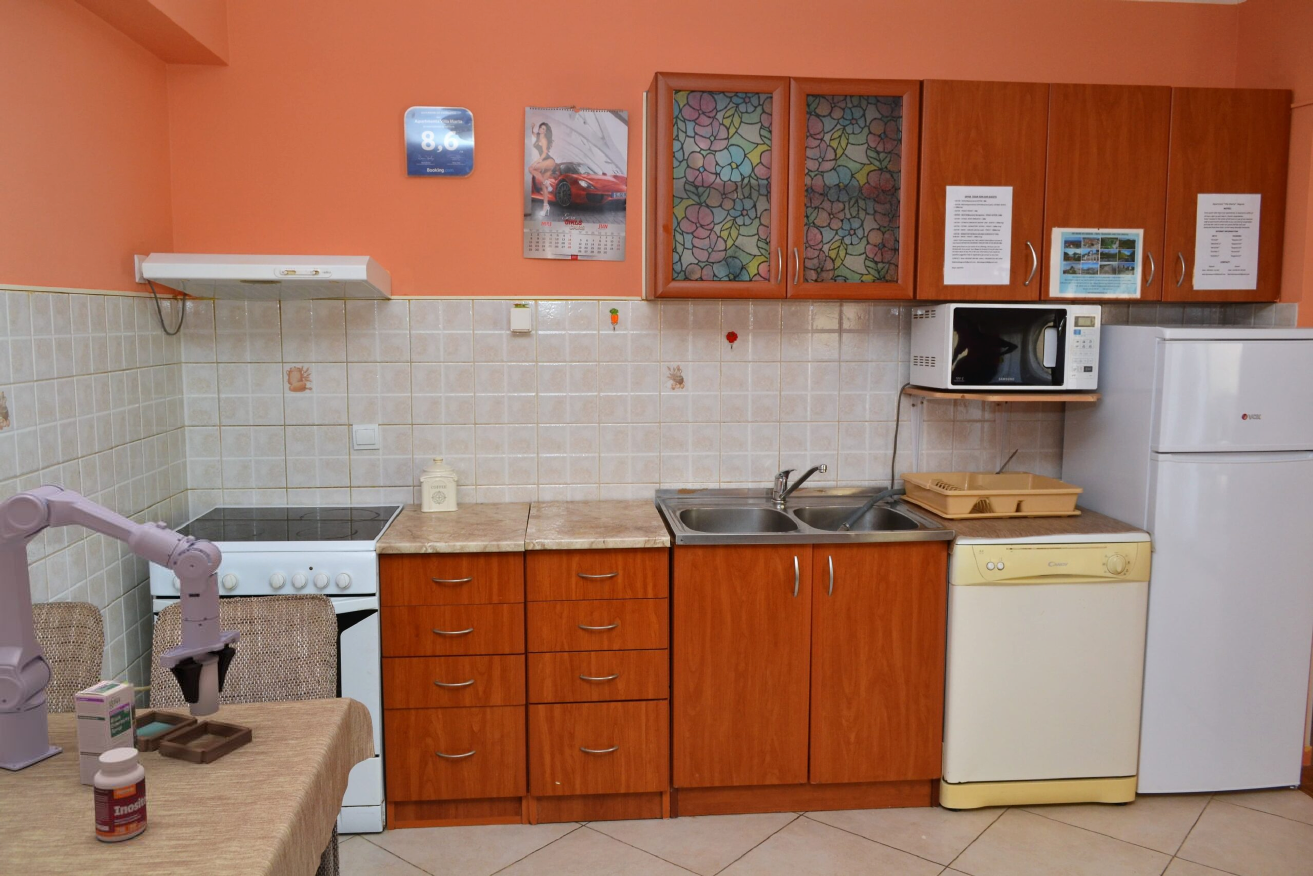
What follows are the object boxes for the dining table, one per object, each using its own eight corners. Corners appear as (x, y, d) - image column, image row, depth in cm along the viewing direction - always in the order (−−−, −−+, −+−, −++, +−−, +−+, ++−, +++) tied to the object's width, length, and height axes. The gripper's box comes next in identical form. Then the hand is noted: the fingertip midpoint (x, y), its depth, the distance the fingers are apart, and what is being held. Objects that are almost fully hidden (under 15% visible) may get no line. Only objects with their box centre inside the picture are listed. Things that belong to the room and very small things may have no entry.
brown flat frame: (102, 742, 159) (102, 731, 159) (155, 720, 169) (155, 709, 169) (205, 765, 151) (204, 753, 151) (254, 739, 161) (254, 728, 161)
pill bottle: (118, 847, 127) (114, 768, 126) (85, 838, 129) (80, 760, 128) (158, 825, 132) (154, 749, 131) (125, 817, 135) (121, 742, 134)
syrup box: (112, 788, 143) (107, 695, 142) (78, 784, 144) (73, 692, 143) (140, 771, 149) (135, 681, 147) (107, 768, 150) (102, 678, 148)
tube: (181, 714, 156) (179, 660, 155) (205, 704, 160) (203, 652, 159) (204, 718, 154) (201, 664, 153) (227, 708, 159) (225, 655, 158)
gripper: (182, 631, 147) (186, 716, 149) (253, 607, 161) (255, 685, 162) (148, 626, 150) (152, 709, 151) (221, 603, 163) (224, 679, 165)
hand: (203, 696), depth 157 cm, fingers closed on tube, 4 cm apart
